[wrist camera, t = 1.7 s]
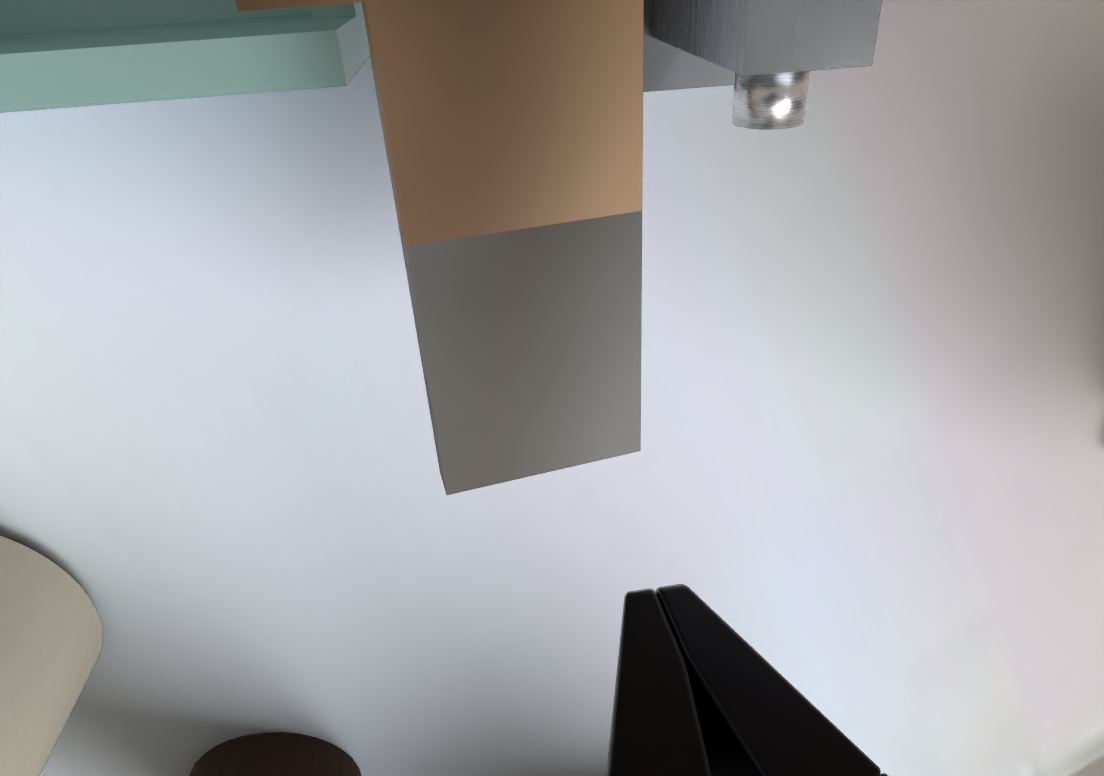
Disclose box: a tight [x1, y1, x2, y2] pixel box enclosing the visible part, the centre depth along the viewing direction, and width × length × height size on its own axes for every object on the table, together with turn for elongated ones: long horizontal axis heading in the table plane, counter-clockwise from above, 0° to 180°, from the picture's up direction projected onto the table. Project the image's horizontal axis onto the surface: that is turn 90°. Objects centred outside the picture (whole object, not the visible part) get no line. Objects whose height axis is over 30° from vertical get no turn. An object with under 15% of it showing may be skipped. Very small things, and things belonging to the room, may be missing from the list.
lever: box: [235, 0, 644, 495], centre depth 12 cm, size 16×14×5 cm
